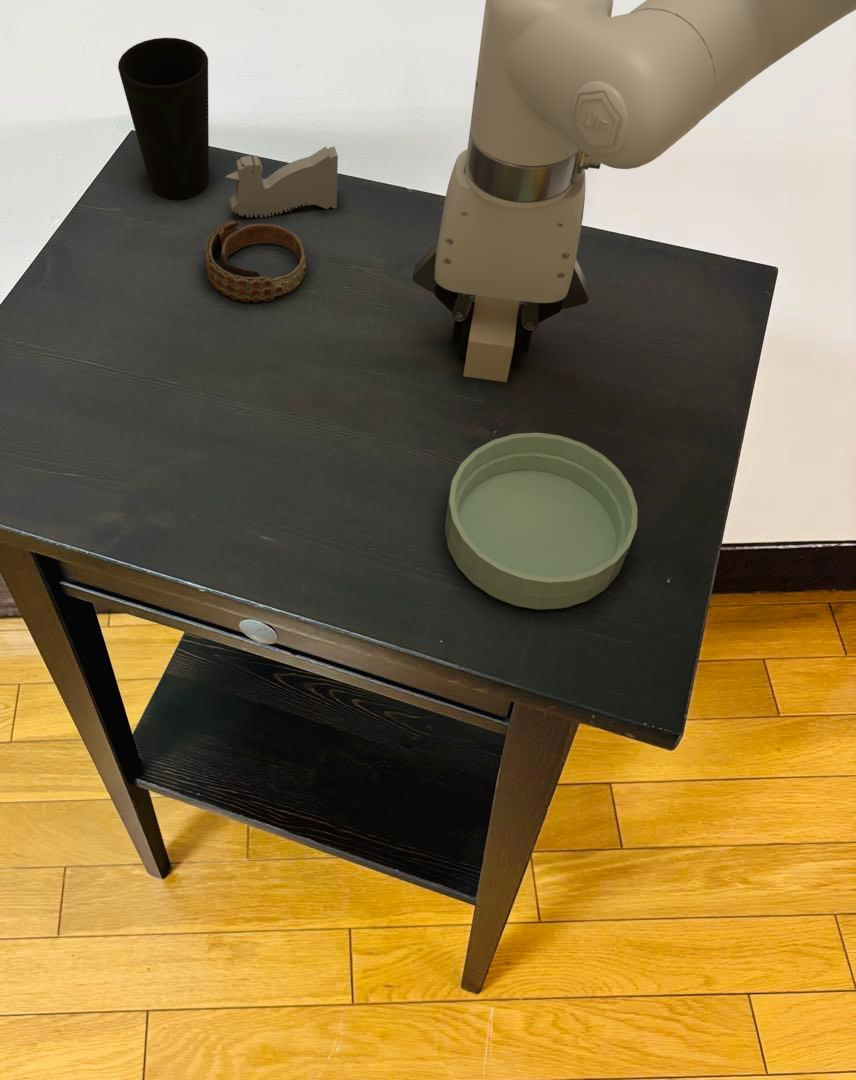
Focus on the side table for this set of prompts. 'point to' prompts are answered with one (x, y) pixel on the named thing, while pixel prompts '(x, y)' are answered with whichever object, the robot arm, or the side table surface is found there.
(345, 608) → the side table surface
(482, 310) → the tan rectangular block
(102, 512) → the side table surface
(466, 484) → the bowl
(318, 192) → the serrated bird cutout
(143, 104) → the cup
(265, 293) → the bracelet
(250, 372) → the side table surface
